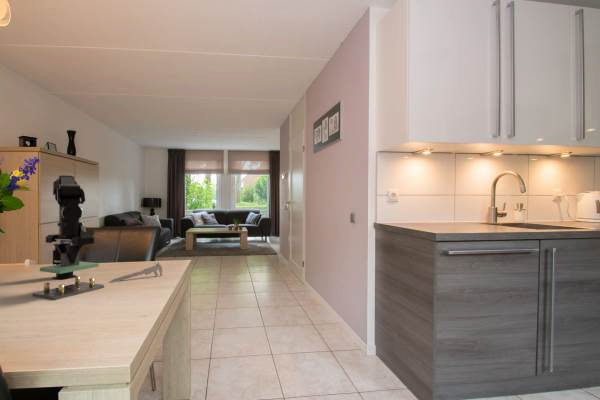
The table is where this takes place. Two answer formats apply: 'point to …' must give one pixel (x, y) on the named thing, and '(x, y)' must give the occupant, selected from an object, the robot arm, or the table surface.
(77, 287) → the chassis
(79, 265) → the board
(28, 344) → the table surface
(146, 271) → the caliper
